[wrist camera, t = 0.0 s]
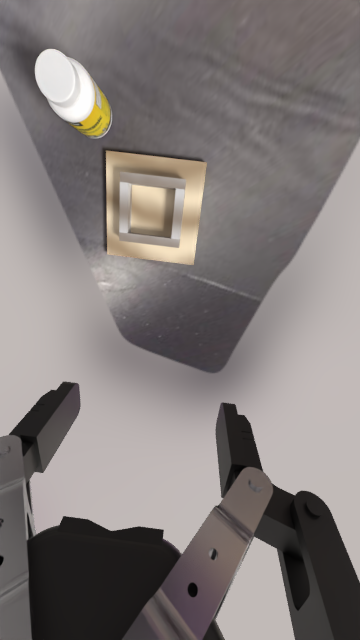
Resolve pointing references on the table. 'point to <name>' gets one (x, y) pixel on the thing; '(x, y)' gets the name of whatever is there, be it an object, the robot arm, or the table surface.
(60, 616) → the robot arm
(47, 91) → the supplement bottle
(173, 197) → the socket stand
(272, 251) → the table surface
